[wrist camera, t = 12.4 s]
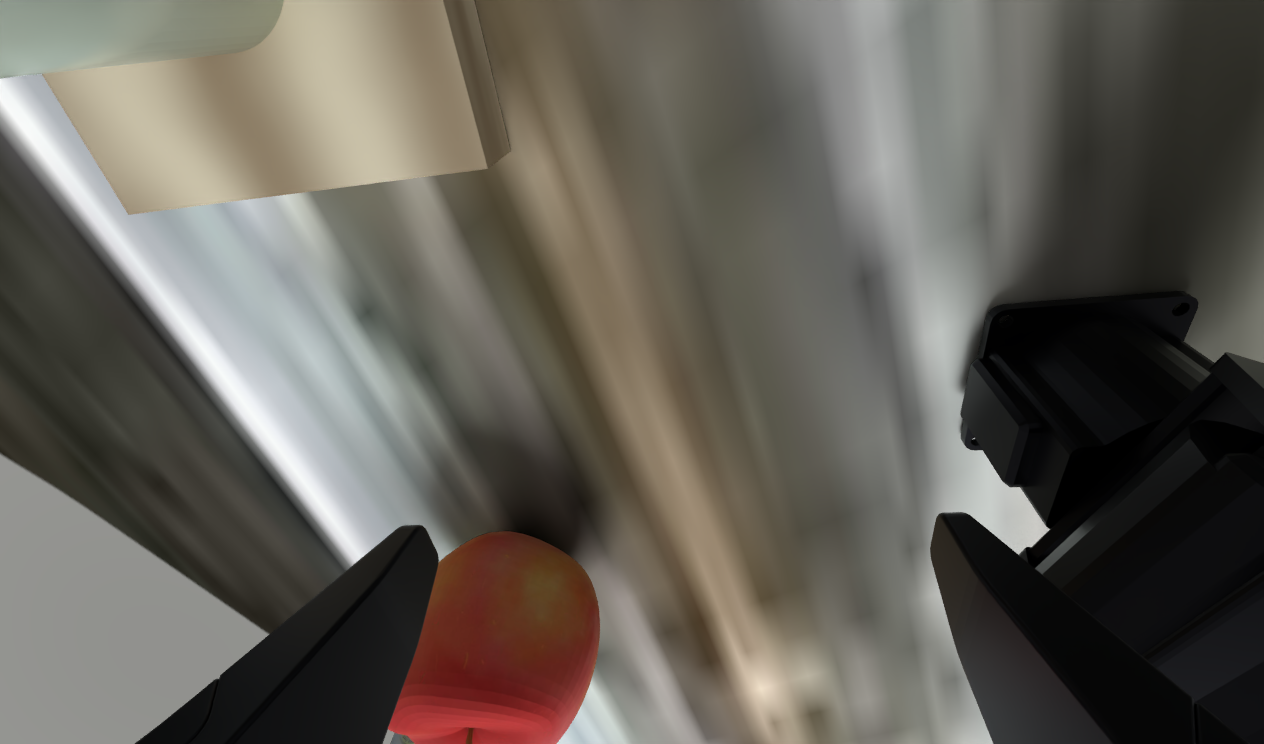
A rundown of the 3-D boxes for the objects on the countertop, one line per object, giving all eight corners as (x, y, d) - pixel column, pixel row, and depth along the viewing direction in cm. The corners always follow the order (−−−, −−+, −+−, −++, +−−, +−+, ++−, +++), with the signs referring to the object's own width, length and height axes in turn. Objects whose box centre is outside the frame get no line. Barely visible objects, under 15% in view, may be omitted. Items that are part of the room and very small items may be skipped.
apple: (405, 531, 31) (296, 726, 23) (532, 462, 27) (457, 665, 19) (523, 625, 35) (467, 822, 26) (649, 575, 31) (630, 787, 23)
